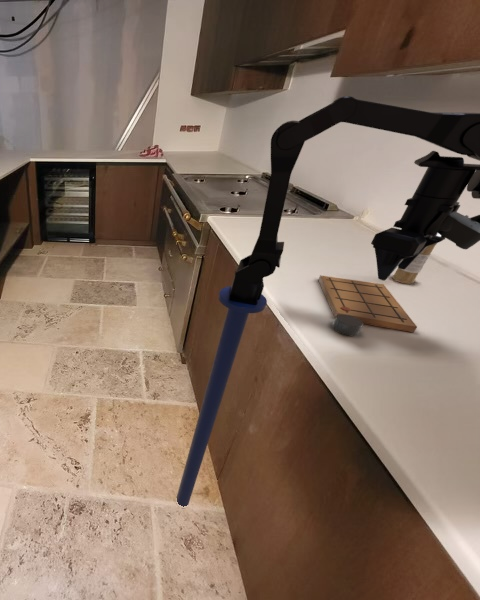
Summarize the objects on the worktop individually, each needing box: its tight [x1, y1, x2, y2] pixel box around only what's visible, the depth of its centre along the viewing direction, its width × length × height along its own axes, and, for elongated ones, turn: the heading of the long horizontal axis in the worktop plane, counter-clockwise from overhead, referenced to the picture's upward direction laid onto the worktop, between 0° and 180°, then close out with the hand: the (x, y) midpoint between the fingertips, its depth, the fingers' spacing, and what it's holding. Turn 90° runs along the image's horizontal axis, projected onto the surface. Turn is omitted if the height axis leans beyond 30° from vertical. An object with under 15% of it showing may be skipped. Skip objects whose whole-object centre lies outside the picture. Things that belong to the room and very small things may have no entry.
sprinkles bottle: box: [392, 233, 441, 285], centre depth 84 cm, size 5×5×14 cm
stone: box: [331, 314, 364, 337], centre depth 68 cm, size 5×5×2 cm
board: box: [317, 275, 418, 333], centre depth 77 cm, size 14×20×2 cm
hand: (391, 273), depth 65 cm, fingers open, 9 cm apart
